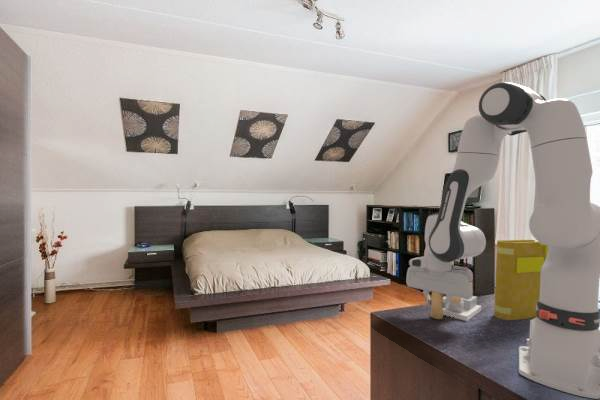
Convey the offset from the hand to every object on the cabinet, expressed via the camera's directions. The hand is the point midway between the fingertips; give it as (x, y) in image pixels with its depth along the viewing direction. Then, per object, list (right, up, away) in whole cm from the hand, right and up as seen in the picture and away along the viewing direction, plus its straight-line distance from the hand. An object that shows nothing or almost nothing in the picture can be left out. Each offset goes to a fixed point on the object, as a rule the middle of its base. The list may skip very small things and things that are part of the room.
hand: (437, 306), depth 112 cm
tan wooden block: (0, -4, 0) cm, 4 cm away
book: (+29, -5, +5) cm, 29 cm away
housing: (+10, -4, +7) cm, 13 cm away
